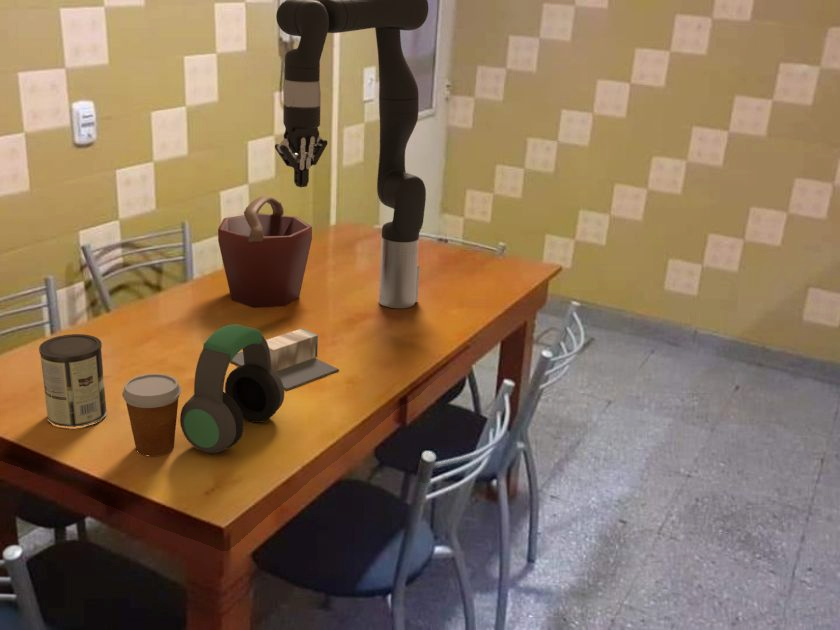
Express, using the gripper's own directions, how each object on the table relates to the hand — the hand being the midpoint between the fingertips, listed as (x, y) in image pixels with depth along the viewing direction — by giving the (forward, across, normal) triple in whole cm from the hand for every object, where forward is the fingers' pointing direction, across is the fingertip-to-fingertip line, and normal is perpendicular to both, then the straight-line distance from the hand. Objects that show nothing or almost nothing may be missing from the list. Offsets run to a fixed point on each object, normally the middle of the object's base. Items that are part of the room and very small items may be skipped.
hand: (301, 186), depth 188 cm
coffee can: (+35, +54, +1) cm, 64 cm away
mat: (+35, +12, +8) cm, 38 cm away
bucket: (+35, -11, -27) cm, 46 cm away
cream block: (+32, +4, +8) cm, 33 cm away
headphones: (+35, +37, +25) cm, 57 cm away
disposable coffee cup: (+35, +50, +20) cm, 64 cm away
